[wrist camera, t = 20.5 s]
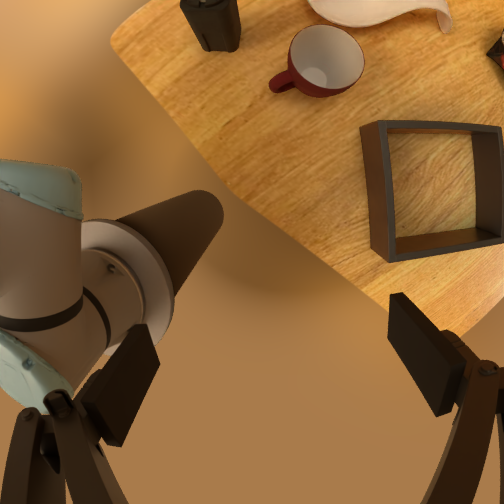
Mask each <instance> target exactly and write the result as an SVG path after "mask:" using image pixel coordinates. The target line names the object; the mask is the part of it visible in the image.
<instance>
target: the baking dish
mask: <svg viewBox="0 0 504 504" xmlns="http://www.w3.org/2000/svg"><path fill="white" fill-rule="evenodd" d="M487 56H489V57H491V58H492V59H493V60H495V61H496V62H497V63H498V64H499V65H500V66H501V67H502V68H503V69H504V29H503V31H502V35H501V37H500V38H499V39H498V41H497V42H496V43H495V44H494V45H493V47H492V48H491V49H490V50H489V51H488V53H487Z"/></svg>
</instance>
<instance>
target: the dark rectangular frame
mask: <svg viewBox="0 0 504 504" xmlns="http://www.w3.org/2000/svg"><path fill="white" fill-rule="evenodd" d="M387 133H443V134H466V135H471V137H472V145H473V155H474V167H475V185H476V227H475V228H468V229H460V230H453V231H446V232H439V233H431V234H424V235H417V236H409V237H402V238H395V211H394V195H393V182H392V171H391V162H390V153H389V145H388V137H387ZM360 134H361V141H362V149H363V157H364V165H365V174H366V184H367V195H368V208H369V223H370V242H371V249H372V250H374V251H375V252H376V253H377V254H378V255H380V256H381V257H382V258H383V259H384V260H386V261H387V262H388V263H393V262H399V261H406V260H412V259H418V258H424V257H430V256H436V255H442V254H447V253H453V252H459V251H464V250H470V249H475V248H481V247H486V246H492V245H497V244H502V243H504V145H503V136H502V128H501V127H499V126H491V125H481V124H471V123H458V122H442V121H415V120H378V121H375V122H372V123H370V124H367V125H364V126H362V127H360Z"/></svg>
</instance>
